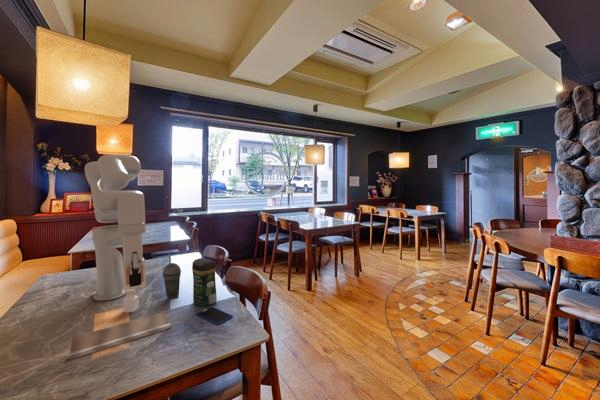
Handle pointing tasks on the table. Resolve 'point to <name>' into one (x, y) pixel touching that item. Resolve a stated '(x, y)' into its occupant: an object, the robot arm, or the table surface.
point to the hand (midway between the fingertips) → (134, 282)
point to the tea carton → (126, 276)
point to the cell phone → (214, 315)
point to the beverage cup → (172, 280)
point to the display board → (117, 334)
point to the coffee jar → (204, 282)
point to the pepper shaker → (131, 301)
